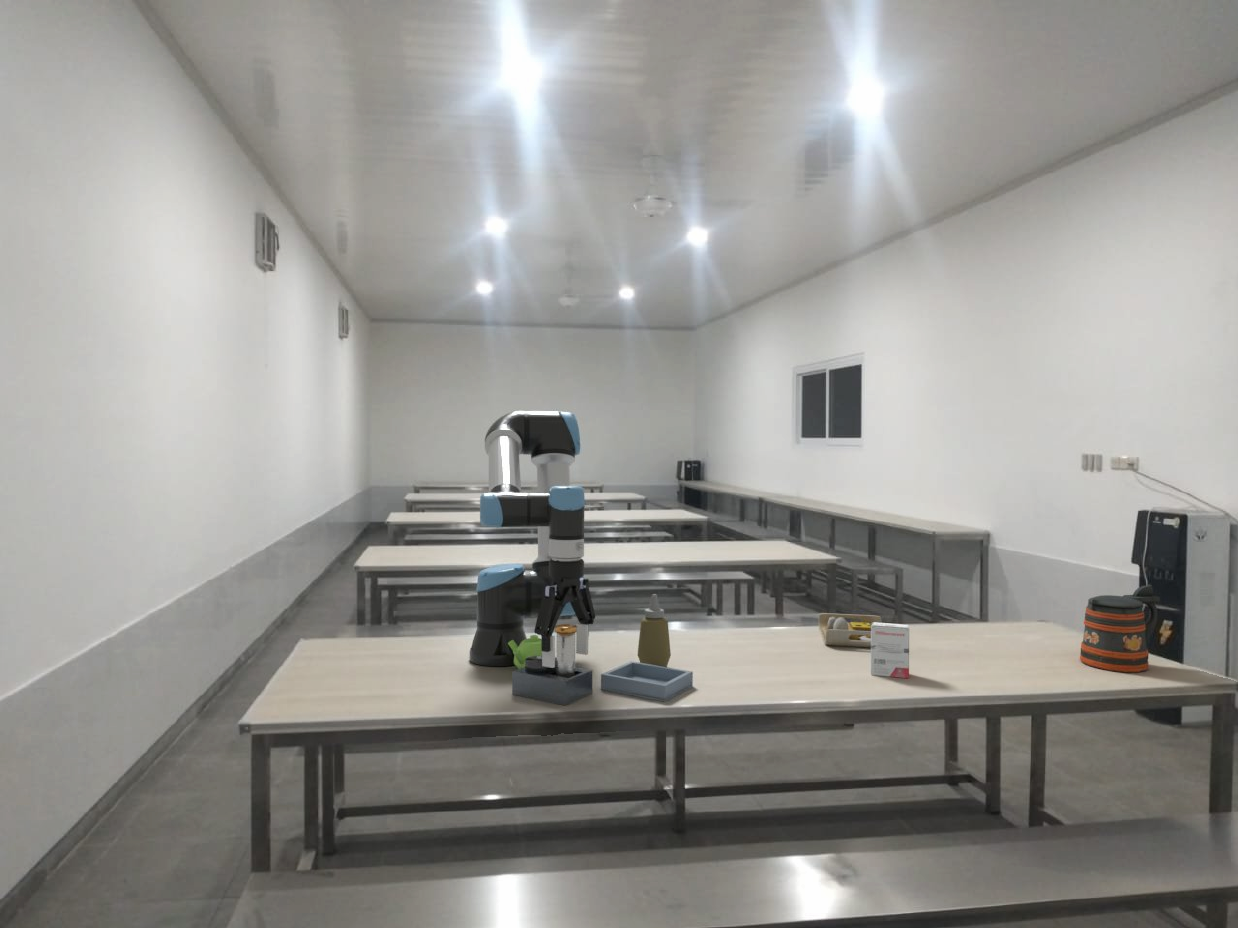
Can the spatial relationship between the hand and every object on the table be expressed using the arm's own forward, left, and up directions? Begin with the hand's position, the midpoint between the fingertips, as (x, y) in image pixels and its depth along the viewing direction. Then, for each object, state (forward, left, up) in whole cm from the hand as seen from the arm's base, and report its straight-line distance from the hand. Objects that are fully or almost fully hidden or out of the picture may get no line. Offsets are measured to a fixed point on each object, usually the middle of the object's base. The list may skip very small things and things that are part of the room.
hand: (565, 659), depth 170 cm
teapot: (-19, +12, -8) cm, 23 cm away
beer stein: (+101, +97, -8) cm, 141 cm away
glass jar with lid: (0, 0, -8) cm, 8 cm away
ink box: (+54, +56, -8) cm, 79 cm away
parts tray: (+11, +15, -8) cm, 20 cm away
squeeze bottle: (+5, +29, -8) cm, 31 cm away
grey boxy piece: (-4, 0, -8) cm, 9 cm away
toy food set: (+38, +88, -8) cm, 96 cm away
